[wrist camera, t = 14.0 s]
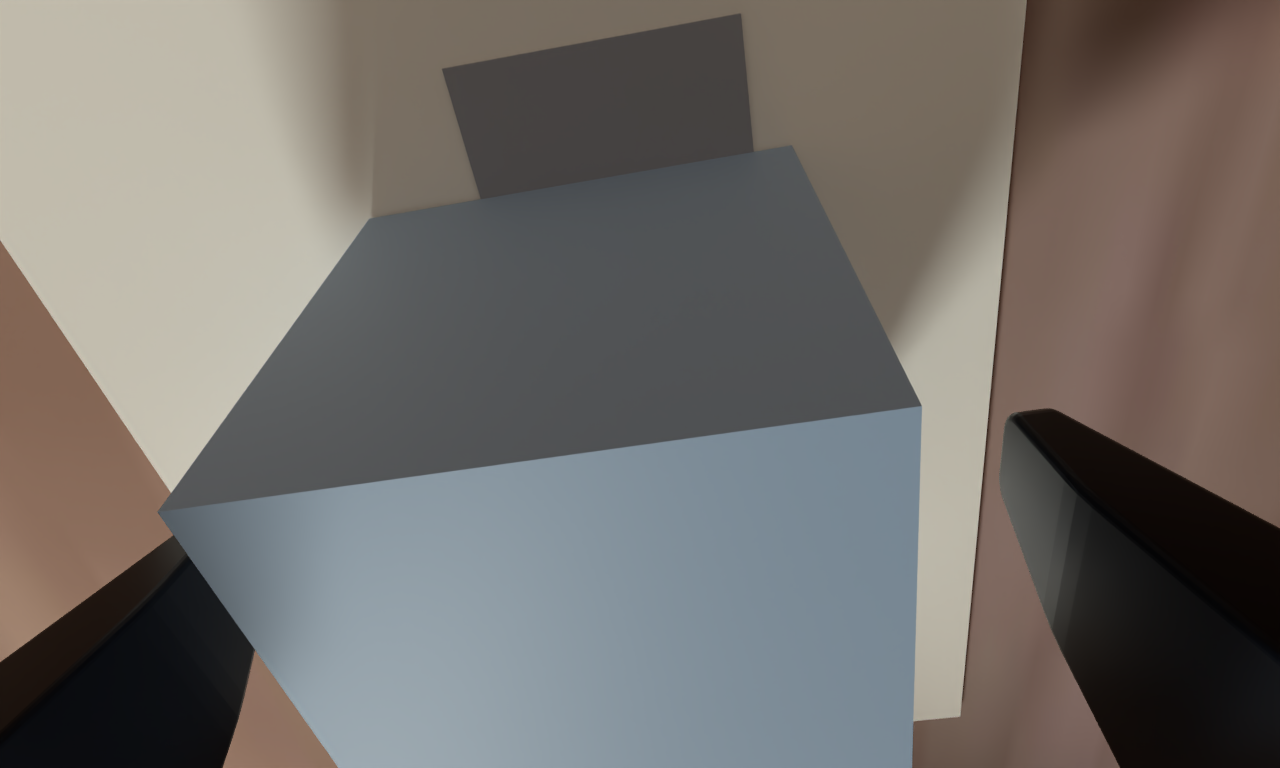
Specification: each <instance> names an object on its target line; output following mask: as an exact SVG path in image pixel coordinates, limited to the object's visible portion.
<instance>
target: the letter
mask: <svg viewBox="0 0 1280 768" xmlns="http://www.w3.org/2000/svg"><path fill="white" fill-rule="evenodd" d="M1026 4H1027V0H0V240H1V242H2V243H3V245H4V246H5V248H6V249H7V251H8V252H9V254H10V255H11V257H12V258H13V260H14V261H15V263H16V264H17V266H18V267H19V269H20V270H21V271H22V273H23V274H24V276H25V277H26V279H27V280H28V282H29V283H30V285H31V286H32V288H33V289H34V291H35V292H36V294H37V295H38V297H39V298H40V300H41V301H42V303H43V304H44V306H45V307H46V308H47V310H48V311H49V313H50V314H51V316H52V317H53V319H54V320H55V322H56V323H57V325H58V326H59V328H60V329H61V331H62V332H63V334H64V335H65V337H66V338H67V340H68V341H69V343H70V344H71V345H72V347H73V348H74V350H75V351H76V353H77V354H78V356H79V357H80V359H81V360H82V362H83V363H84V365H85V366H86V368H87V369H88V371H89V372H90V374H91V375H92V377H93V378H94V380H95V381H96V382H97V384H98V385H99V387H100V388H101V390H102V391H103V393H104V394H105V396H106V397H107V399H108V400H109V402H110V403H111V405H112V406H113V408H114V409H115V411H116V412H117V414H118V415H119V417H120V418H121V420H122V421H123V422H124V424H125V425H126V427H127V428H128V430H129V431H130V433H131V434H132V436H133V437H134V439H135V440H136V442H137V443H138V445H139V446H140V448H141V449H142V451H143V452H144V454H145V455H146V457H147V458H148V459H149V461H150V462H151V464H152V465H153V467H154V468H155V470H156V471H157V473H158V474H159V476H160V477H161V479H162V480H163V482H164V483H165V485H166V486H167V488H168V489H169V491H170V492H171V493H172V491H173V490H174V489H175V487H176V486H177V484H178V483H179V482H180V480H181V479H182V477H183V476H184V475H185V473H186V472H187V471H188V469H189V468H190V466H191V465H192V464H193V462H194V461H195V459H196V458H197V457H198V455H199V454H200V453H201V451H202V450H203V448H204V447H205V446H206V444H207V443H208V441H209V440H210V439H211V437H212V436H213V435H214V433H215V432H216V430H217V429H218V428H219V426H220V425H221V423H222V422H223V421H224V419H225V418H226V417H227V415H228V414H229V412H230V411H231V410H232V408H233V407H234V405H235V404H236V403H237V401H238V400H239V399H240V397H241V396H242V394H243V393H244V392H245V390H246V389H247V387H248V386H249V385H250V383H251V382H252V380H253V379H254V378H255V376H256V375H257V374H258V372H259V371H260V369H261V368H262V367H263V365H264V364H265V362H266V361H267V360H268V358H269V357H270V356H271V354H272V353H273V351H274V350H275V349H276V347H277V346H278V344H279V343H280V342H281V340H282V339H283V338H284V336H285V335H286V333H287V332H288V331H289V329H290V328H291V326H292V325H293V324H294V322H295V321H296V320H297V318H298V317H299V315H300V314H301V313H302V311H303V310H304V308H305V307H306V306H307V304H308V303H309V302H310V300H311V299H312V297H313V296H314V295H315V293H316V292H317V290H318V289H319V288H320V286H321V285H322V283H323V282H324V281H325V279H326V278H327V277H328V275H329V274H330V272H331V271H332V270H333V268H334V267H335V265H336V264H337V263H338V261H339V260H340V259H341V257H342V256H343V254H344V253H345V252H346V250H347V249H348V247H349V246H350V245H351V243H352V242H353V241H354V239H355V238H356V236H357V235H358V234H359V232H360V231H361V229H362V228H363V227H364V225H365V224H366V223H367V221H368V220H369V219H370V218H376V217H381V216H387V215H393V214H399V213H405V212H410V211H416V210H422V209H428V208H433V207H439V206H445V205H451V204H456V203H462V202H468V201H474V200H479V199H485V198H491V197H497V196H503V195H508V194H514V193H520V192H526V191H531V190H537V189H543V188H549V187H554V186H560V185H566V184H572V183H577V182H583V181H589V180H595V179H600V178H606V177H612V176H618V175H623V174H629V173H635V172H641V171H647V170H652V169H658V168H664V167H670V166H675V165H681V164H687V163H693V162H698V161H704V160H710V159H716V158H721V157H727V156H733V155H739V154H744V153H750V152H756V151H762V150H768V149H773V148H779V147H785V146H791V145H792V147H793V149H794V151H795V153H796V155H797V157H798V159H799V161H800V163H801V165H802V167H803V169H804V171H805V173H806V175H807V177H808V179H809V181H810V183H811V185H812V187H813V189H814V191H815V193H816V195H817V197H818V199H819V201H820V203H821V205H822V207H823V209H824V211H825V213H826V215H827V217H828V219H829V221H830V223H831V225H832V227H833V229H834V231H835V233H836V235H837V237H838V239H839V241H840V243H841V245H842V247H843V249H844V251H845V253H846V255H847V257H848V259H849V261H850V263H851V265H852V267H853V269H854V271H855V273H856V275H857V277H858V279H859V281H860V283H861V285H862V287H863V289H864V291H865V293H866V295H867V297H868V299H869V301H870V303H871V305H872V307H873V309H874V311H875V313H876V315H877V317H878V319H879V321H880V323H881V325H882V327H883V329H884V331H885V333H886V335H887V337H888V339H889V341H890V343H891V345H892V347H893V349H894V351H895V353H896V355H897V357H898V359H899V361H900V363H901V365H902V367H903V369H904V371H905V373H906V375H907V377H908V379H909V381H910V383H911V385H912V387H913V389H914V391H915V393H916V395H917V397H918V399H919V401H920V403H921V405H922V424H921V460H920V497H919V533H918V569H917V605H916V641H915V677H914V713H913V721H920V720H931V719H941V718H951V717H960V713H961V703H962V692H963V681H964V670H965V660H966V649H967V638H968V627H969V617H970V606H971V595H972V584H973V574H974V563H975V552H976V541H977V531H978V520H979V509H980V498H981V488H982V477H983V466H984V455H985V445H986V434H987V423H988V412H989V402H990V391H991V380H992V369H993V359H994V348H995V337H996V326H997V316H998V305H999V294H1000V283H1001V273H1002V262H1003V251H1004V240H1005V230H1006V219H1007V208H1008V198H1009V187H1010V176H1011V165H1012V155H1013V144H1014V133H1015V122H1016V112H1017V101H1018V90H1019V79H1020V69H1021V58H1022V47H1023V36H1024V26H1025V15H1026Z"/></svg>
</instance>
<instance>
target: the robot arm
mask: <svg viewBox="0 0 1280 768" xmlns="http://www.w3.org/2000/svg"><path fill="white" fill-rule="evenodd" d="M999 482H1000V490H1001V494H1002V498H1003V501H1004V503H1005V506H1006V509H1007V512H1008V514H1009V517H1010V520H1011V523H1012V525H1013V528H1014V531H1015V533H1016V536H1017V539H1018V542H1019V544H1020V547H1021V550H1022V553H1023V555H1024V558H1025V561H1026V564H1027V566H1028V569H1029V572H1030V574H1031V577H1032V580H1033V583H1034V585H1035V588H1036V591H1037V594H1038V596H1039V599H1040V602H1041V605H1042V607H1043V610H1044V613H1045V615H1046V618H1047V620H1048V623H1049V625H1050V628H1051V630H1052V633H1053V635H1054V637H1055V639H1056V641H1057V643H1058V645H1059V647H1060V650H1061V652H1062V654H1063V656H1064V658H1065V660H1066V662H1067V664H1068V666H1069V668H1070V670H1071V672H1072V674H1073V676H1074V678H1075V680H1076V682H1077V683H1078V685H1079V687H1080V689H1081V691H1082V693H1083V695H1084V697H1085V699H1086V701H1087V703H1088V705H1089V707H1090V709H1091V711H1092V713H1093V715H1094V717H1095V719H1096V721H1097V723H1098V725H1099V727H1100V729H1101V731H1102V733H1103V735H1104V737H1105V739H1106V741H1107V743H1108V745H1109V747H1110V749H1111V751H1112V753H1113V755H1114V757H1115V759H1116V761H1117V763H1118V765H1119V766H1120V768H1280V528H1278V527H1276V526H1274V525H1273V524H1271V523H1269V522H1267V521H1265V520H1263V519H1261V518H1259V517H1257V516H1256V515H1254V514H1252V513H1250V512H1248V511H1246V510H1244V509H1242V508H1240V507H1239V506H1237V505H1235V504H1233V503H1231V502H1229V501H1227V500H1225V499H1223V498H1222V497H1220V496H1218V495H1216V494H1214V493H1212V492H1210V491H1208V490H1206V489H1205V488H1203V487H1201V486H1199V485H1197V484H1195V483H1193V482H1191V481H1189V480H1188V479H1186V478H1184V477H1182V476H1180V475H1178V474H1176V473H1174V472H1172V471H1171V470H1169V469H1167V468H1165V467H1163V466H1161V465H1159V464H1157V463H1155V462H1154V461H1152V460H1150V459H1148V458H1146V457H1144V456H1142V455H1140V454H1138V453H1137V452H1135V451H1133V450H1131V449H1129V448H1127V447H1125V446H1123V445H1121V444H1120V443H1118V442H1116V441H1114V440H1112V439H1110V438H1108V437H1106V436H1104V435H1103V434H1101V433H1099V432H1097V431H1095V430H1093V429H1091V428H1089V427H1087V426H1086V425H1084V424H1082V423H1080V422H1078V421H1076V420H1074V419H1072V418H1070V417H1069V416H1067V415H1065V414H1063V413H1061V412H1059V411H1057V410H1054V409H1038V410H1030V411H1023V412H1015V413H1013V414H1011V415H1010V416H1009V417H1008V418H1007V420H1006V423H1005V427H1004V435H1003V445H1002V454H1001V463H1000V473H999ZM254 652H255V649H254V648H253V646H252V645H251V643H250V642H249V641H248V639H247V638H246V636H245V635H244V633H243V632H242V631H241V629H240V628H239V626H238V625H237V624H236V622H235V621H234V619H233V618H232V617H231V615H230V614H229V612H228V611H227V609H226V608H225V607H224V605H223V604H222V602H221V601H220V600H219V598H218V597H217V595H216V594H215V593H214V591H213V590H212V588H211V587H210V585H209V584H208V583H207V581H206V580H205V578H204V577H203V576H202V574H201V573H200V571H199V570H198V569H197V567H196V566H195V564H194V563H193V561H192V560H191V559H190V557H189V556H188V554H187V553H186V552H185V550H184V549H183V547H182V546H181V545H180V543H179V542H178V540H177V539H176V538H175V536H174V535H173V536H172V537H171V538H169V539H168V540H167V541H165V542H164V543H162V544H161V545H160V546H158V547H157V548H156V549H154V550H153V551H152V552H150V553H149V554H147V555H146V556H145V557H143V558H142V559H141V560H139V561H138V562H137V563H135V564H134V565H132V566H131V567H130V568H128V569H127V570H126V571H124V572H123V573H121V574H120V575H119V576H117V577H116V578H115V579H113V580H112V581H111V582H109V583H108V584H106V585H105V586H104V587H102V588H101V589H100V590H98V591H97V592H96V593H94V594H93V595H91V596H90V597H89V598H87V599H86V600H85V601H83V602H82V603H81V604H79V605H78V606H76V607H75V608H74V609H72V610H71V611H70V612H68V613H67V614H65V615H64V616H63V617H61V618H60V619H59V620H57V621H56V622H55V623H53V624H52V625H50V626H49V627H48V628H46V629H45V630H44V631H42V632H41V633H40V634H38V635H37V636H35V637H34V638H33V639H31V640H30V641H29V642H27V643H26V644H24V645H23V646H22V647H20V648H19V649H18V650H16V651H15V652H14V653H12V654H11V655H9V656H8V657H7V658H5V659H4V660H3V661H1V662H0V768H223V765H224V762H225V759H226V756H227V753H228V750H229V747H230V744H231V741H232V738H233V735H234V732H235V728H236V725H237V722H238V719H239V715H240V711H241V707H242V703H243V699H244V696H245V691H246V687H247V683H248V678H249V674H250V669H251V665H252V661H253V656H254Z"/></svg>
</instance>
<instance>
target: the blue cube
mask: <svg viewBox="0 0 1280 768" xmlns="http://www.w3.org/2000/svg"><path fill="white" fill-rule="evenodd" d="M921 424H922V405H921V403H920V401H919V399H918V397H917V395H916V393H915V391H914V389H913V387H912V385H911V383H910V381H909V379H908V377H907V375H906V373H905V371H904V369H903V367H902V365H901V363H900V361H899V359H898V357H897V355H896V353H895V351H894V349H893V347H892V345H891V343H890V341H889V339H888V337H887V335H886V333H885V331H884V329H883V327H882V325H881V323H880V321H879V319H878V317H877V315H876V313H875V311H874V309H873V307H872V305H871V303H870V301H869V299H868V297H867V295H866V293H865V291H864V289H863V287H862V285H861V283H860V281H859V279H858V277H857V275H856V273H855V271H854V269H853V267H852V265H851V263H850V261H849V259H848V257H847V255H846V253H845V251H844V249H843V247H842V245H841V243H840V241H839V239H838V237H837V235H836V233H835V231H834V229H833V227H832V225H831V223H830V221H829V219H828V217H827V215H826V213H825V211H824V209H823V207H822V205H821V203H820V201H819V199H818V197H817V195H816V193H815V191H814V189H813V187H812V185H811V183H810V181H809V179H808V177H807V175H806V173H805V171H804V169H803V167H802V165H801V163H800V161H799V159H798V157H797V155H796V153H795V151H794V149H793V147H792V145H791V146H785V147H779V148H773V149H768V150H762V151H756V152H750V153H744V154H739V155H733V156H727V157H721V158H716V159H710V160H704V161H698V162H693V163H687V164H681V165H675V166H670V167H664V168H658V169H652V170H647V171H641V172H635V173H629V174H623V175H618V176H612V177H606V178H600V179H595V180H589V181H583V182H577V183H572V184H566V185H560V186H554V187H549V188H543V189H537V190H531V191H526V192H520V193H514V194H508V195H503V196H497V197H491V198H485V199H479V200H474V201H468V202H462V203H456V204H451V205H445V206H439V207H433V208H428V209H422V210H416V211H410V212H405V213H399V214H393V215H387V216H381V217H376V218H370V219H369V220H368V221H367V223H366V224H365V225H364V227H363V228H362V229H361V231H360V232H359V234H358V235H357V236H356V238H355V239H354V241H353V242H352V243H351V245H350V246H349V247H348V249H347V250H346V252H345V253H344V254H343V256H342V257H341V259H340V260H339V261H338V263H337V264H336V265H335V267H334V268H333V270H332V271H331V272H330V274H329V275H328V277H327V278H326V279H325V281H324V282H323V283H322V285H321V286H320V288H319V289H318V290H317V292H316V293H315V295H314V296H313V297H312V299H311V300H310V302H309V303H308V304H307V306H306V307H305V308H304V310H303V311H302V313H301V314H300V315H299V317H298V318H297V320H296V321H295V322H294V324H293V325H292V326H291V328H290V329H289V331H288V332H287V333H286V335H285V336H284V338H283V339H282V340H281V342H280V343H279V344H278V346H277V347H276V349H275V350H274V351H273V353H272V354H271V356H270V357H269V358H268V360H267V361H266V362H265V364H264V365H263V367H262V368H261V369H260V371H259V372H258V374H257V375H256V376H255V378H254V379H253V380H252V382H251V383H250V385H249V386H248V387H247V389H246V390H245V392H244V393H243V394H242V396H241V397H240V399H239V400H238V401H237V403H236V404H235V405H234V407H233V408H232V410H231V411H230V412H229V414H228V415H227V417H226V418H225V419H224V421H223V422H222V423H221V425H220V426H219V428H218V429H217V430H216V432H215V433H214V435H213V436H212V437H211V439H210V440H209V441H208V443H207V444H206V446H205V447H204V448H203V450H202V451H201V453H200V454H199V455H198V457H197V458H196V459H195V461H194V462H193V464H192V465H191V466H190V468H189V469H188V471H187V472H186V473H185V475H184V476H183V477H182V479H181V480H180V482H179V483H178V484H177V486H176V487H175V489H174V490H173V491H172V493H171V494H170V495H169V497H168V498H167V500H166V501H165V502H164V504H163V505H162V507H161V508H160V509H159V511H158V514H159V515H160V516H161V518H162V519H163V521H164V522H165V523H166V525H167V526H168V528H169V529H170V530H171V532H172V533H173V535H174V536H175V538H176V539H177V540H178V542H179V543H180V545H181V546H182V547H183V549H184V550H185V552H186V553H187V554H188V556H189V557H190V559H191V560H192V561H193V563H194V564H195V566H196V567H197V569H198V570H199V571H200V573H201V574H202V576H203V577H204V578H205V580H206V581H207V583H208V584H209V585H210V587H211V588H212V590H213V591H214V593H215V594H216V595H217V597H218V598H219V600H220V601H221V602H222V604H223V605H224V607H225V608H226V609H227V611H228V612H229V614H230V615H231V617H232V618H233V619H234V621H235V622H236V624H237V625H238V626H239V628H240V629H241V631H242V632H243V633H244V635H245V636H246V638H247V639H248V641H249V642H250V643H251V645H252V646H253V648H254V649H255V650H256V652H257V653H258V655H259V656H260V657H261V659H262V660H263V662H264V663H265V665H266V666H267V667H268V669H269V670H270V672H271V673H272V674H273V676H274V677H275V679H276V680H277V681H278V683H279V684H280V686H281V687H282V689H283V690H284V691H285V693H286V694H287V696H288V697H289V698H290V700H291V701H292V703H293V704H294V705H295V707H296V708H297V710H298V711H299V713H300V714H301V715H302V717H303V718H304V720H305V721H306V722H307V724H308V725H309V727H310V728H311V729H312V731H313V732H314V734H315V735H316V737H317V738H318V739H319V741H320V742H321V744H322V745H323V746H324V748H325V749H326V751H327V752H328V753H329V755H330V756H331V758H332V759H333V761H334V762H335V763H336V765H337V766H338V768H912V750H913V713H914V677H915V641H916V605H917V569H918V533H919V497H920V460H921Z"/></svg>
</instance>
